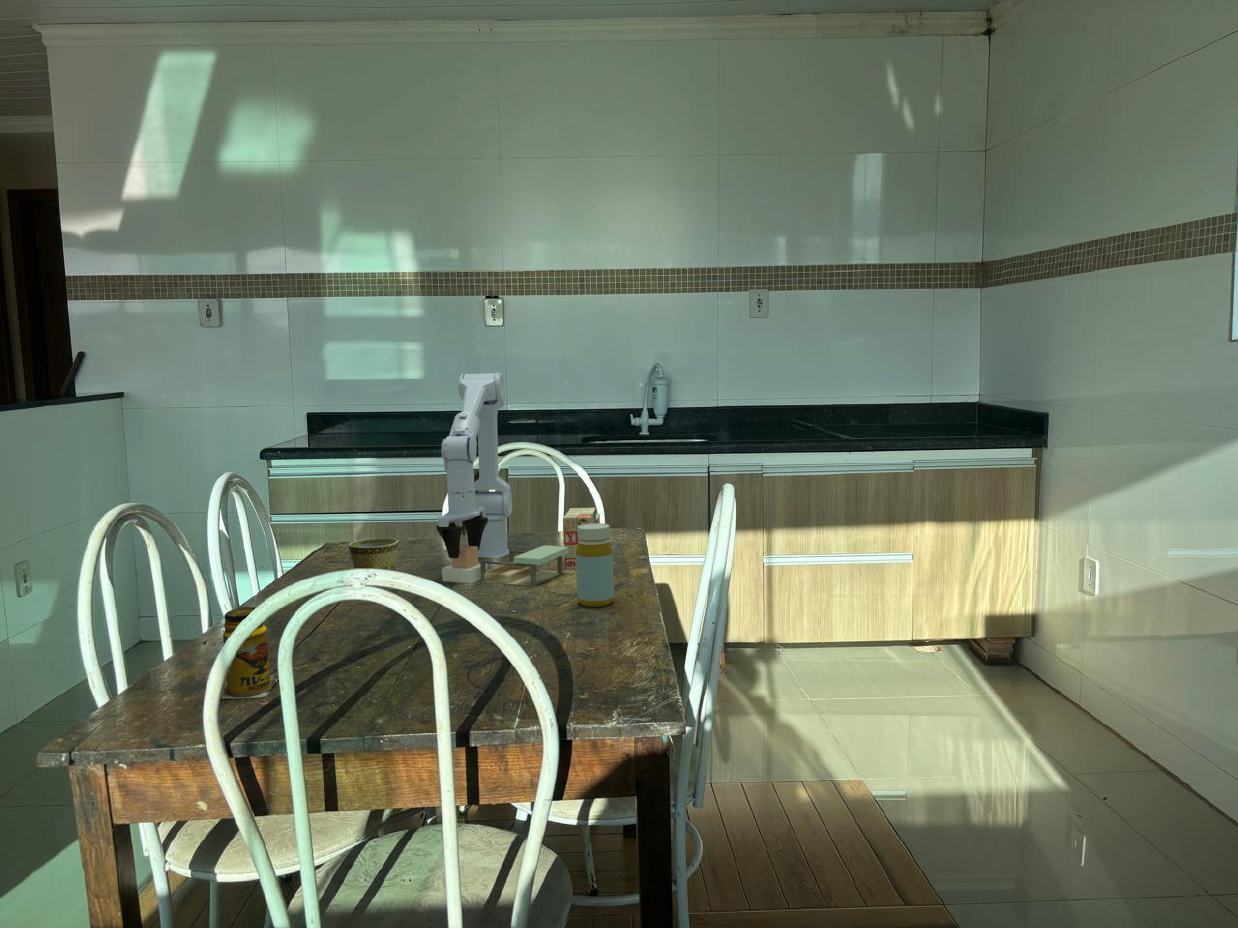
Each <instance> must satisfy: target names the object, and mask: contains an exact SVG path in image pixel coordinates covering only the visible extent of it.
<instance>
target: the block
mask: <svg viewBox="0 0 1238 928" xmlns="http://www.w3.org/2000/svg"><path fill="white" fill-rule="evenodd" d="M478 563H479V557H478V547H476V546H466V545H463V544H462V545H460V552H459V558H451V565H452V567H453V568H465V569H469V568H471V567H474V566H477V565H479V564H478Z"/></svg>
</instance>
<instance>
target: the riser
mask: <svg viewBox="0 0 1238 928" xmlns="http://www.w3.org/2000/svg"><path fill="white" fill-rule="evenodd" d="M478 564H479V565H477V566H474V567H471V568H469V569H465V568H453V567H452V564H450V565H446V566H445V567H442V568H441V575H442V576H441V577H442V580H441V581H442V582H447V583H449V582H450V583H461V584H472V583H475V582H477V581H481V570H480V562H478ZM488 567H489V564H486V571H488V570H489V568H488Z"/></svg>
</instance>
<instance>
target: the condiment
mask: <svg viewBox="0 0 1238 928" xmlns="http://www.w3.org/2000/svg"><path fill="white" fill-rule="evenodd" d="M255 608H256V606H255V607H254V606H250V607H249V606H248V607H247V606H245V607H239V608H238V607H237V608H235V609H231V610H228V611H227V612H226V613H225V614H224V617H223V618H224V631H223V632H222V638H223V645H224V644H225V642H226V640H227V639H228V637H229V636H230V635H231V633H232V632H233V631H234V630H235V629H236V627H237V625H238V624H239V623H240V622H241V621H242V620H243V619H245V618H246V617H247V616H248V615H249V614H250V612H251V611H253V610H254V609H255ZM268 636H269V635H268V628H267V626H265V621H264V622H263V623H262V624H261V625H260V626H259V627H258V628H257V629H256V630H255V631H254V632H253V633H252V634H251V636H250V637H249V638H248V639H247V640H246V641H245V642H244V644H243V645H242V646H241V648H240V649H239V650H238V651H237V653H236V657H235V658H234V660H233V662H232V665H231V667H230V669H229V672H228V675H227V678H226V680H225V681H226V683H225V688H224V693H223V697H222V699H221V700H226V699H254V698H265V697H267V696H268V695H269V694H270V692H268V693H266V690H268V689H269V688H270V687H271V684H270V683H271V680H272V676H271V665H270V650H269V637H268ZM275 679H276V682H277V679H278V678H275ZM277 683H278V682H277Z"/></svg>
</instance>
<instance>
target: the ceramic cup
mask: <svg viewBox="0 0 1238 928" xmlns="http://www.w3.org/2000/svg"><path fill="white" fill-rule="evenodd" d="M348 549H349V555H350V559H351V562H352V565H353V568H383V569H392V570H395V571H396V567H397V566H396V565H397V564H396V563H397V560H398V559H397V558H398V550H399V540H398V539H396V538H391V537H374V538H373V537H371V538H365V539H358V540H354V541H352V542H350V543H348Z"/></svg>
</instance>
